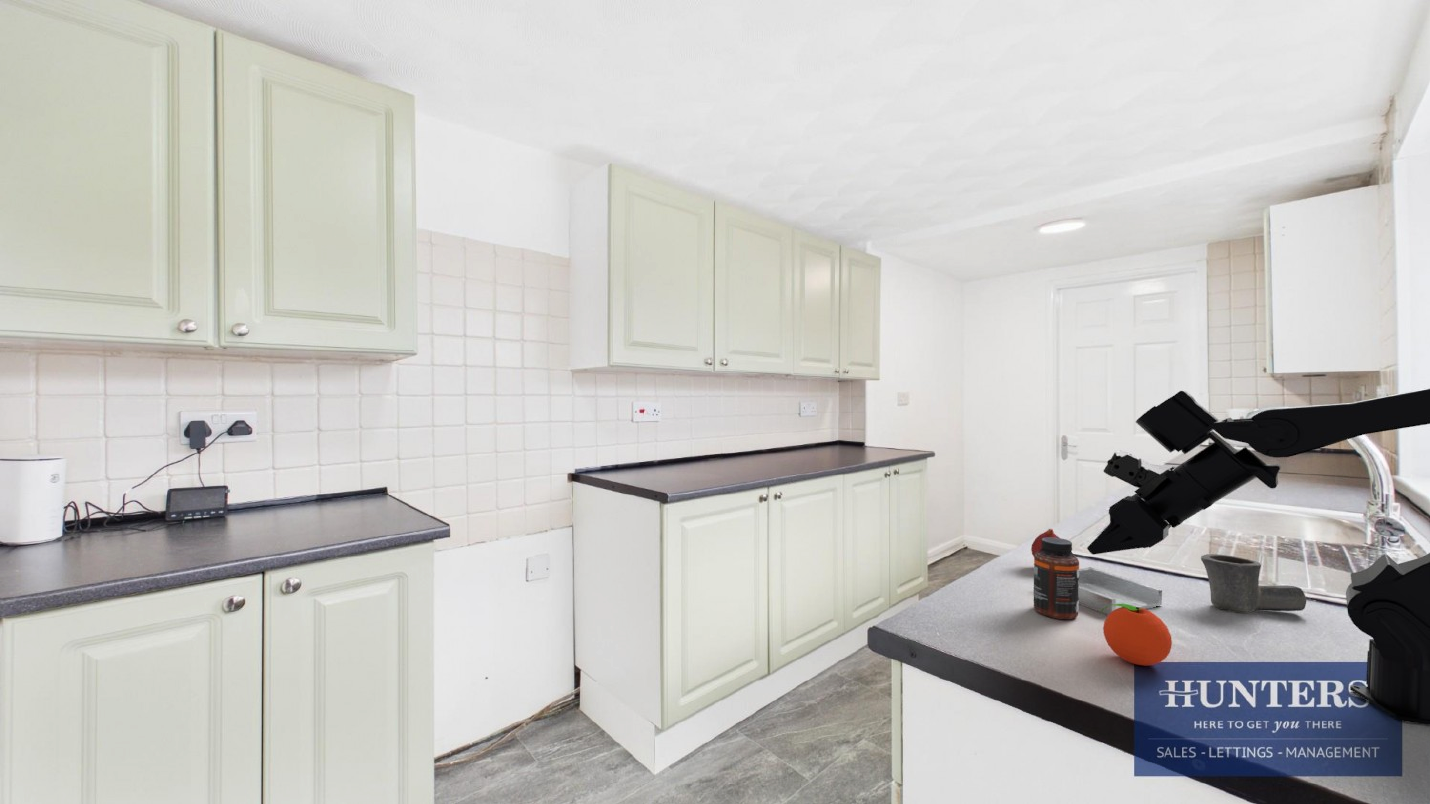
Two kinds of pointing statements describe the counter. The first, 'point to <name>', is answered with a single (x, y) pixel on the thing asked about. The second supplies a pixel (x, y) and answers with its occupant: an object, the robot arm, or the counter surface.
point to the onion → (1038, 541)
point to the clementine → (1137, 635)
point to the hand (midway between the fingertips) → (1098, 545)
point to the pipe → (1247, 587)
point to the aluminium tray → (1114, 591)
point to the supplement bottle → (1056, 579)
